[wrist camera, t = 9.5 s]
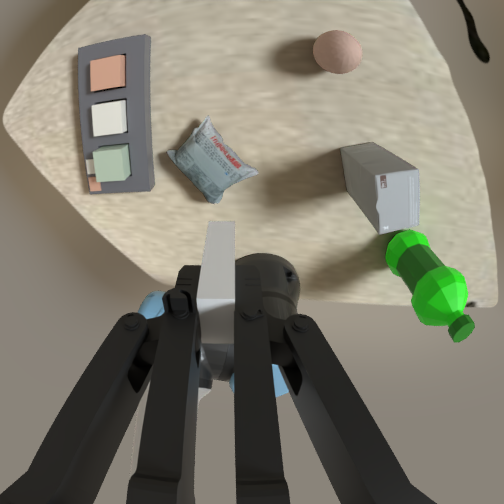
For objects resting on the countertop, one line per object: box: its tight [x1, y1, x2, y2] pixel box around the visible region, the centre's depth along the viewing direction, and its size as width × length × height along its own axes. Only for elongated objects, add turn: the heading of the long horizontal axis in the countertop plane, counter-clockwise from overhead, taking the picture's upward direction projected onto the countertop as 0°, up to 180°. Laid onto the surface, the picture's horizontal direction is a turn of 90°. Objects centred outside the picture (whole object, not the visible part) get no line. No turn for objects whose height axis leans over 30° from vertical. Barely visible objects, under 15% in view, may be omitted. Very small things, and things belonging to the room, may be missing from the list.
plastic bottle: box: [385, 229, 475, 342], centre depth 44 cm, size 10×10×25 cm
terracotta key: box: [90, 55, 126, 91], centre depth 33 cm, size 5×5×4 cm
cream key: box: [92, 99, 128, 136], centre depth 37 cm, size 5×5×4 cm
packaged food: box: [166, 116, 258, 204], centre depth 43 cm, size 9×12×5 cm
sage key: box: [93, 143, 132, 182], centre depth 40 cm, size 5×5×4 cm
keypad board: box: [78, 34, 155, 194], centre depth 38 cm, size 25×11×3 cm, turn 178°
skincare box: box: [340, 142, 420, 235], centre depth 39 cm, size 8×7×16 cm
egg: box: [313, 30, 362, 74], centre depth 32 cm, size 7×7×9 cm
